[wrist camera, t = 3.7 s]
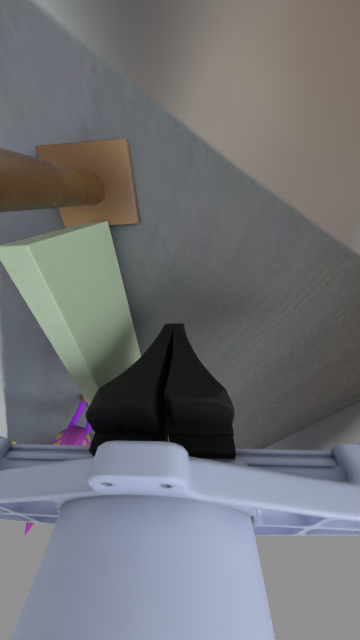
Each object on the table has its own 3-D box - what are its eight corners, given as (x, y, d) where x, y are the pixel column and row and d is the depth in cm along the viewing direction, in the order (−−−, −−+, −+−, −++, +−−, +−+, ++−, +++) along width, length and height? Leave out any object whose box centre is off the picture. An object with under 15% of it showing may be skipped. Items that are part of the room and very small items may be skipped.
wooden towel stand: (140, 222, 12) (37, 279, 4) (69, 226, 12) (-167, 287, 4) (127, 140, 10) (-187, -152, 2) (41, 148, 10) (-599, -64, 2)
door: (151, 360, 19) (135, 434, 13) (130, 360, 19) (105, 433, 13) (123, 219, 11) (56, 243, 6) (89, 221, 12) (-10, 246, 6)
